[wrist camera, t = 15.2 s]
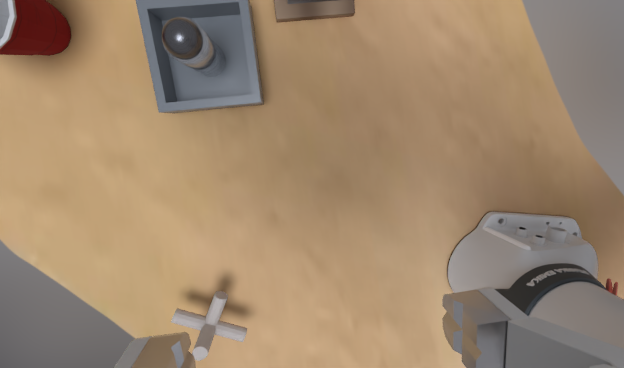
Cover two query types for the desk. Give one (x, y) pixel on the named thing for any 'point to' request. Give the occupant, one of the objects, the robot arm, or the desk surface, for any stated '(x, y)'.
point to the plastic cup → (32, 28)
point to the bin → (188, 82)
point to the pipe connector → (209, 325)
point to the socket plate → (312, 9)
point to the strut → (192, 46)
